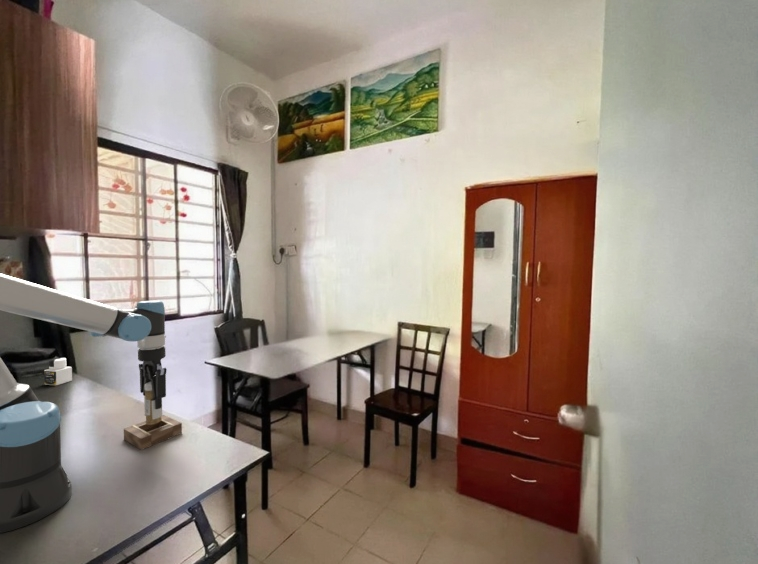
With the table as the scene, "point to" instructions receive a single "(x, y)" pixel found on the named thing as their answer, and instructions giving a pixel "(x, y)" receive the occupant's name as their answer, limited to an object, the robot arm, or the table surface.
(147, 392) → the sprinkles bottle
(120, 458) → the table surface
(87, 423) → the table surface
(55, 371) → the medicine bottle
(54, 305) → the robot arm
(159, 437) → the socket
